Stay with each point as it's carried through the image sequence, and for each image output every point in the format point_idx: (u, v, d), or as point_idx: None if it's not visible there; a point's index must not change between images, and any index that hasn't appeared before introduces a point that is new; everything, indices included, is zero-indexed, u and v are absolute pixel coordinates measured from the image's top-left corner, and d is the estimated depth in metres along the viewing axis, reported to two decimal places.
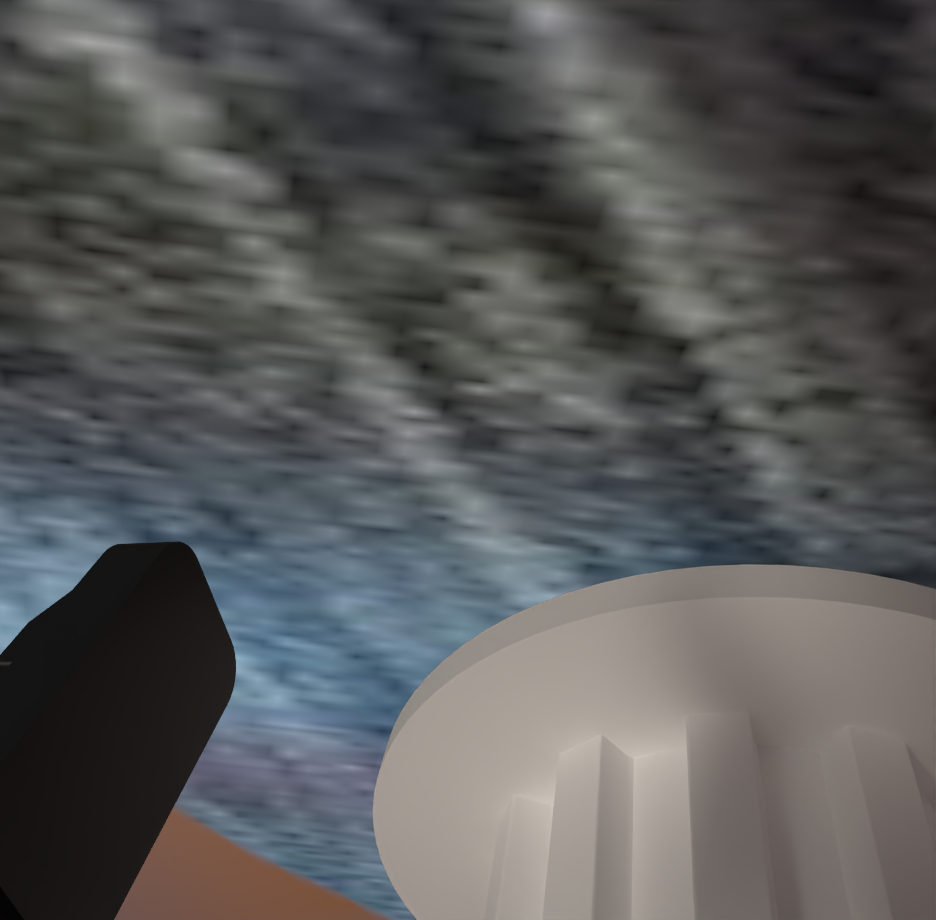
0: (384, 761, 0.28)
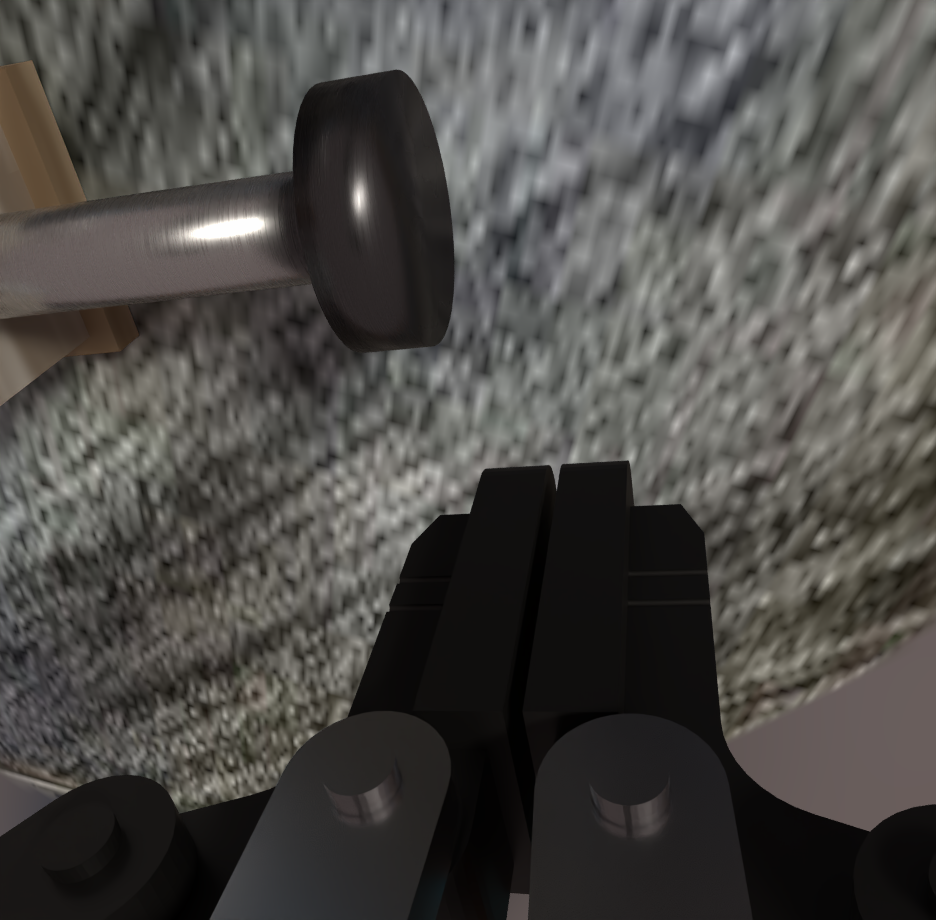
0: None
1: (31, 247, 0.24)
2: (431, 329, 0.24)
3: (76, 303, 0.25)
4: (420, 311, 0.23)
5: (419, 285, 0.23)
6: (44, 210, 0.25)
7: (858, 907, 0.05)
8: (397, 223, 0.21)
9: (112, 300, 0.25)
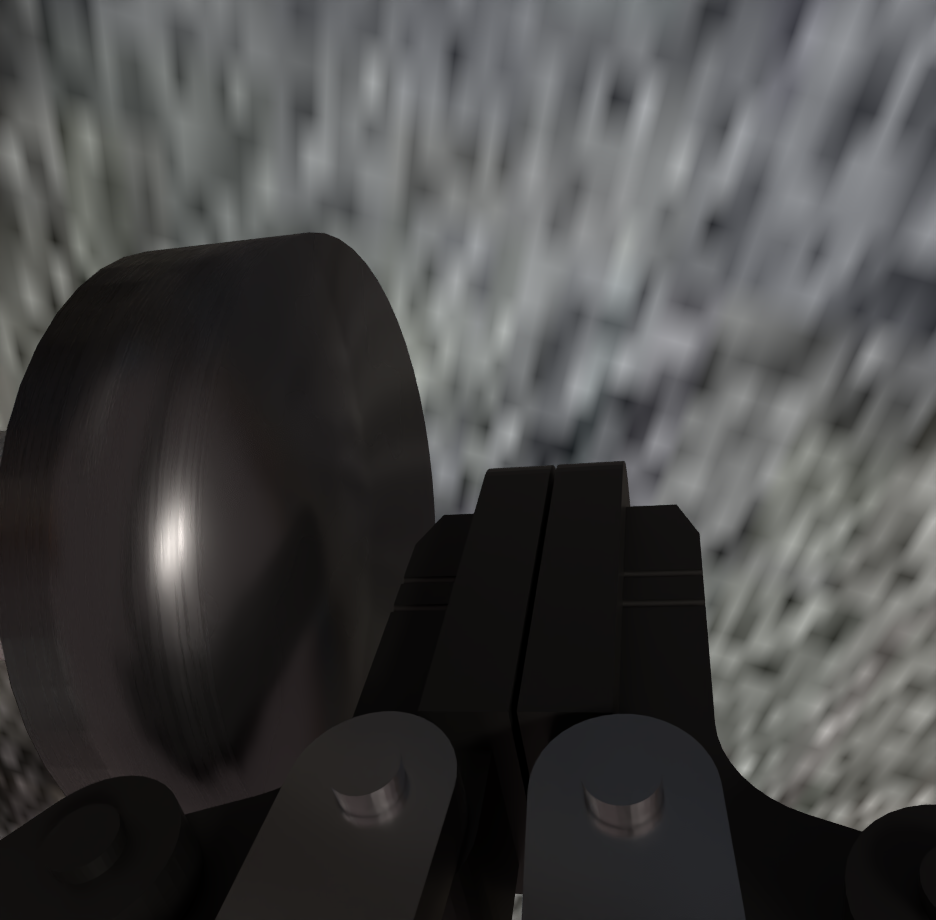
0: None
1: None
2: None
3: None
4: None
5: (350, 712, 0.10)
6: None
7: (849, 906, 0.05)
8: (285, 634, 0.08)
9: None
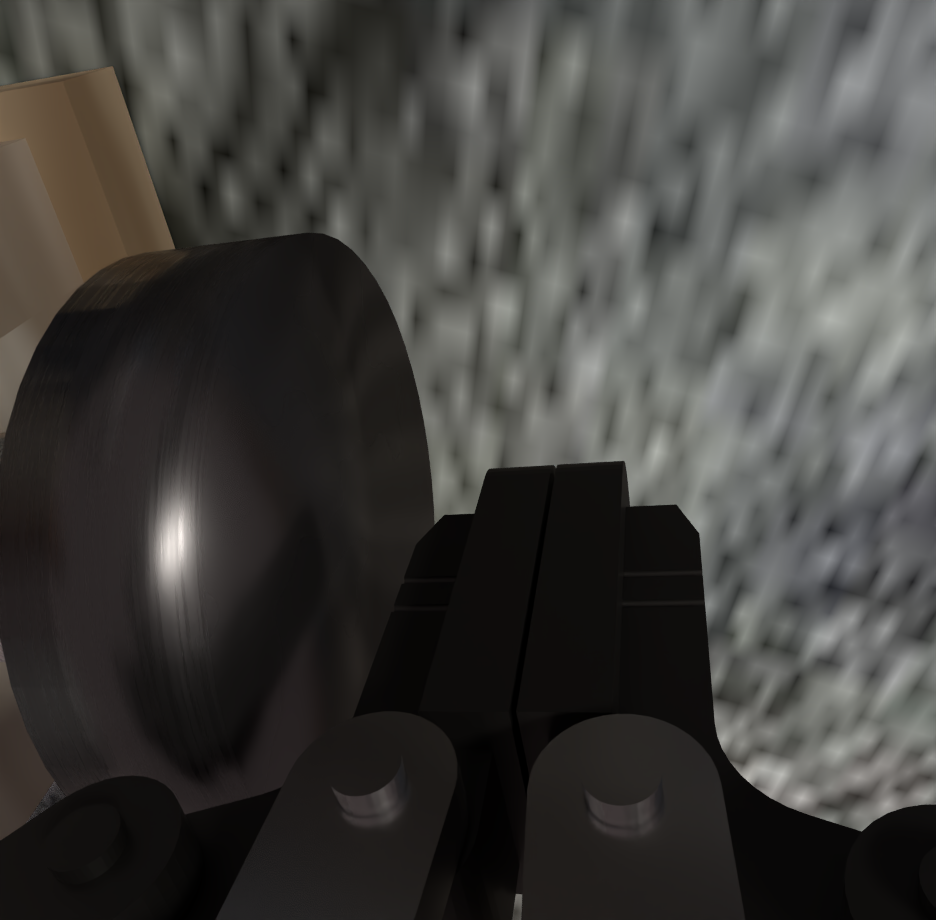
0: None
1: None
2: None
3: None
4: None
5: (350, 711, 0.10)
6: None
7: (848, 907, 0.05)
8: (285, 633, 0.08)
9: None
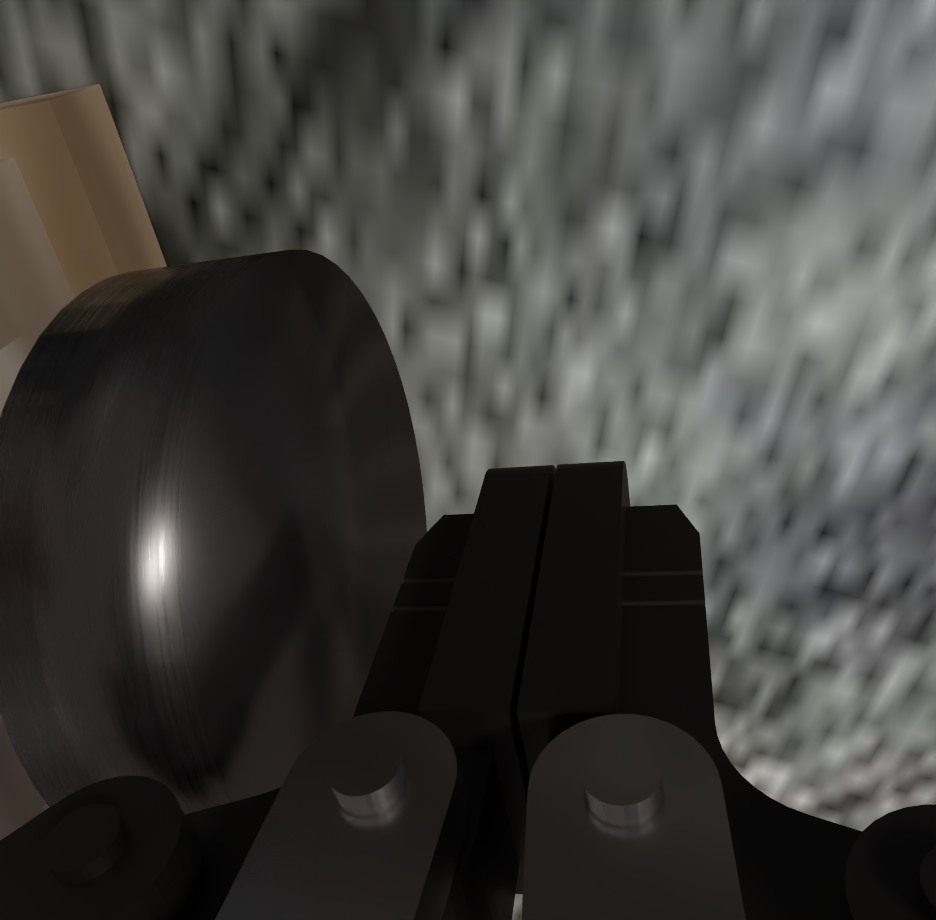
0: None
1: None
2: None
3: None
4: None
5: None
6: None
7: (849, 907, 0.05)
8: (270, 650, 0.09)
9: None
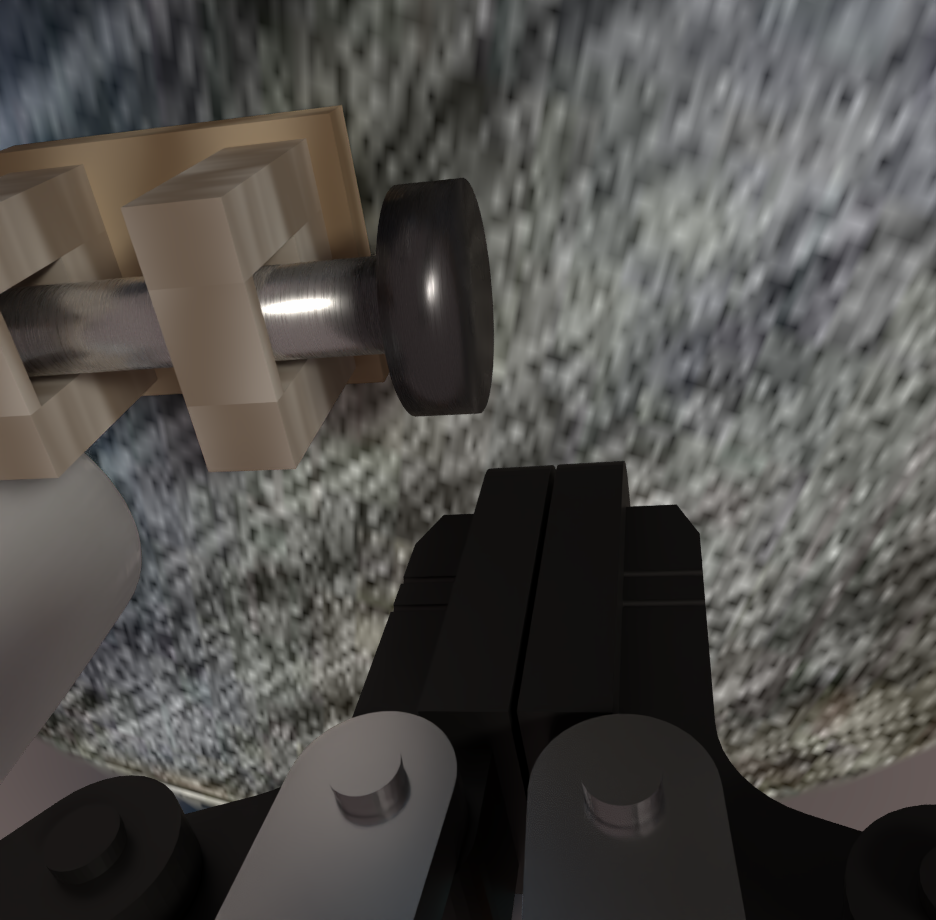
0: None
1: (125, 315, 0.27)
2: (480, 398, 0.27)
3: (160, 363, 0.28)
4: (473, 384, 0.26)
5: (473, 362, 0.26)
6: (135, 281, 0.28)
7: (849, 907, 0.05)
8: (461, 313, 0.25)
9: None
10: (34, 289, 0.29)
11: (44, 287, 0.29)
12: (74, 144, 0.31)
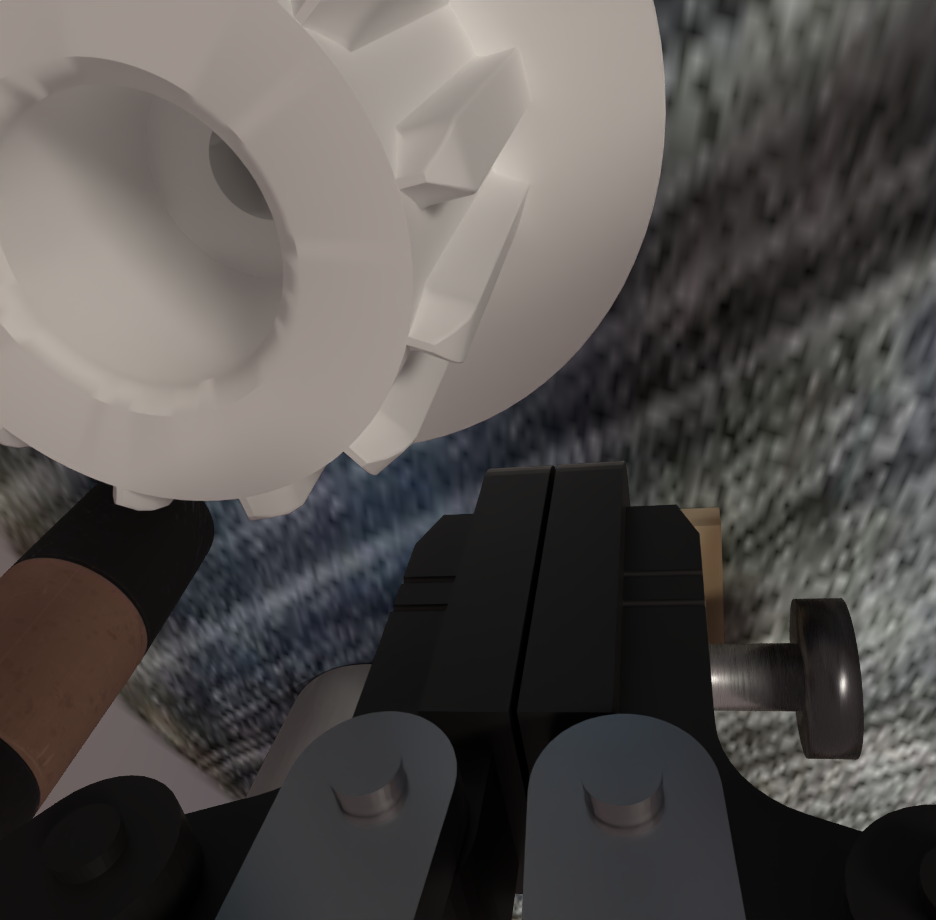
0: None
1: None
2: None
3: None
4: None
5: None
6: None
7: (848, 906, 0.05)
8: None
9: None
10: None
11: None
12: None
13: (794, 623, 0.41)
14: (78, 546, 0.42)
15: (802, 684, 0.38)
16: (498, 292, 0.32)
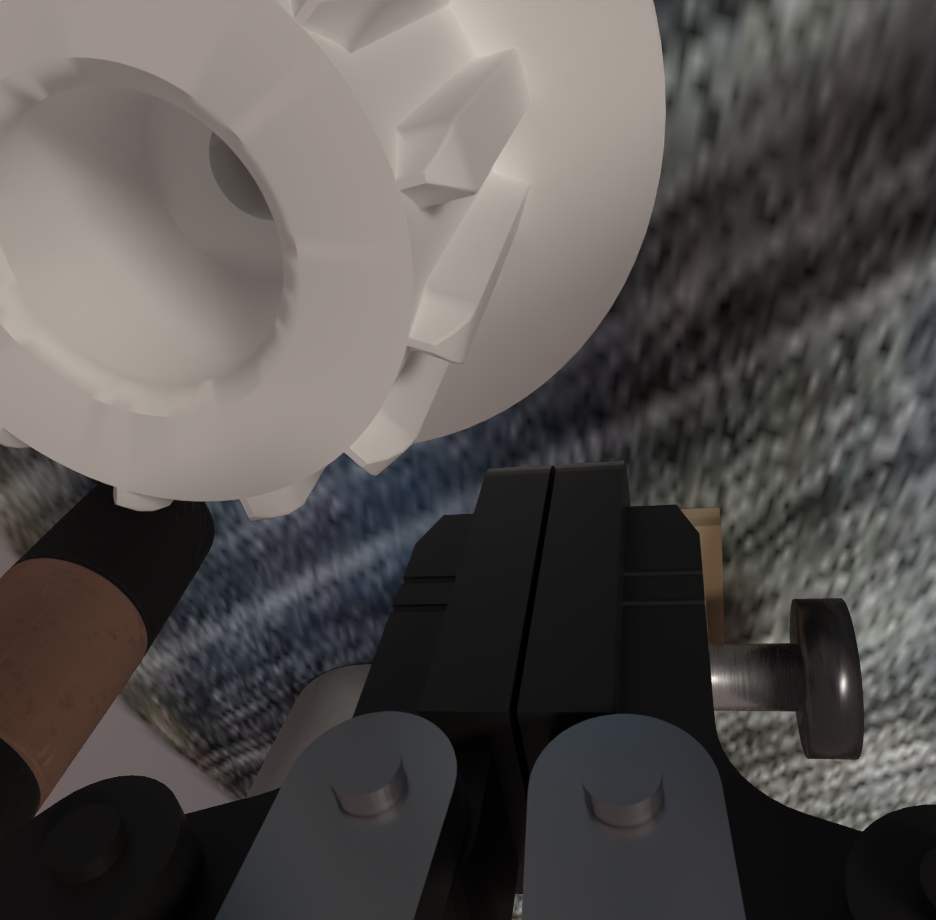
0: None
1: None
2: None
3: None
4: None
5: None
6: None
7: (849, 907, 0.05)
8: None
9: None
10: None
11: None
12: None
13: (794, 623, 0.41)
14: (78, 546, 0.42)
15: (802, 684, 0.38)
16: (498, 292, 0.32)
